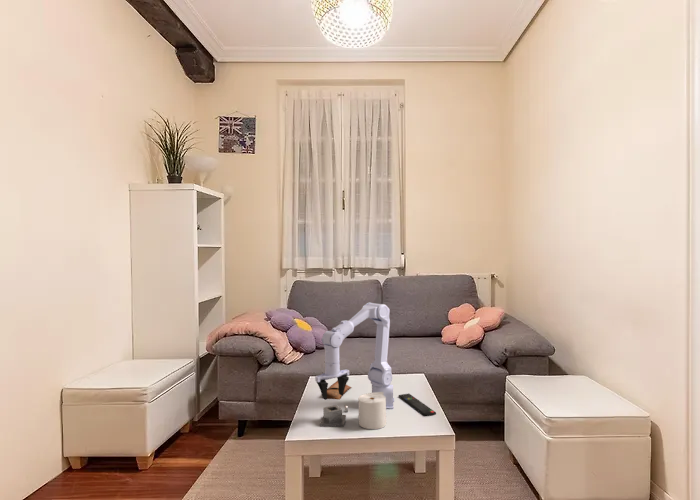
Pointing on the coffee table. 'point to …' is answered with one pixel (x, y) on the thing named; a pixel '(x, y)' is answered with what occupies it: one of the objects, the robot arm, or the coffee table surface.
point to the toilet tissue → (372, 410)
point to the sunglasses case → (336, 391)
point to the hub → (333, 424)
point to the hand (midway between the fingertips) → (333, 396)
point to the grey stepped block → (332, 413)
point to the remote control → (417, 405)
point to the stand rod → (346, 408)
